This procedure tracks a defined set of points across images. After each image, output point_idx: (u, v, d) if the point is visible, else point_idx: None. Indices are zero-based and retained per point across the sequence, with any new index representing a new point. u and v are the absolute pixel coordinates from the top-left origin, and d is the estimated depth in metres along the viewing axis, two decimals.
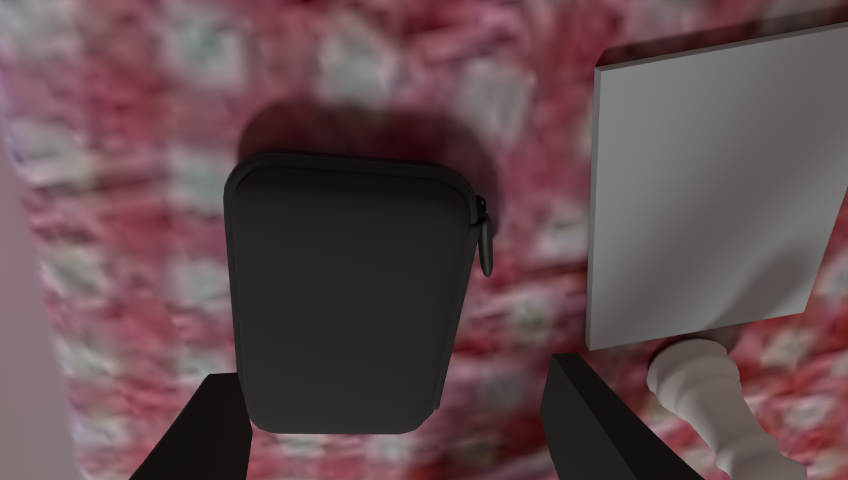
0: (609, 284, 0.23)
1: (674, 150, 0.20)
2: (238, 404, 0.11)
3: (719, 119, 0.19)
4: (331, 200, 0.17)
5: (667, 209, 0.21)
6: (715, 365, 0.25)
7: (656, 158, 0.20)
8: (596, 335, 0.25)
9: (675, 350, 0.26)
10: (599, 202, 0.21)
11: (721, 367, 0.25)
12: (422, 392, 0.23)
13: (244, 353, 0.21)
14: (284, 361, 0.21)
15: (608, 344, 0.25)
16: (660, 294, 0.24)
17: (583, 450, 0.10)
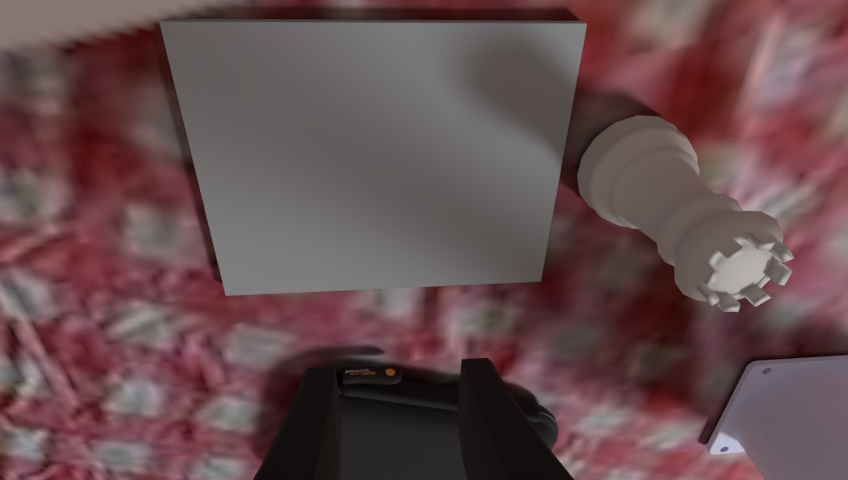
0: (452, 271, 0.22)
1: (303, 231, 0.20)
2: (336, 398, 0.11)
3: (272, 196, 0.19)
4: None
5: (370, 229, 0.21)
6: (603, 175, 0.19)
7: (309, 246, 0.21)
8: (520, 277, 0.23)
9: (583, 191, 0.21)
10: (351, 286, 0.22)
11: (610, 168, 0.19)
12: None
13: None
14: None
15: (539, 264, 0.22)
16: (483, 220, 0.21)
17: (481, 458, 0.10)
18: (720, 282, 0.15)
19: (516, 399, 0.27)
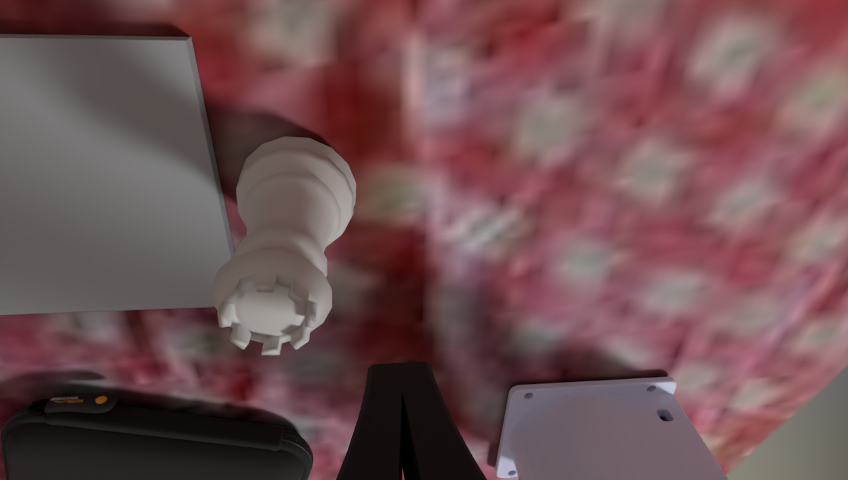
0: (136, 294, 0.21)
1: None
2: None
3: None
4: None
5: (24, 251, 0.20)
6: (240, 200, 0.18)
7: None
8: None
9: None
10: (27, 310, 0.21)
11: (243, 192, 0.18)
12: (231, 470, 0.25)
13: None
14: None
15: None
16: (150, 244, 0.20)
17: (410, 463, 0.10)
18: (251, 324, 0.14)
19: (260, 426, 0.26)
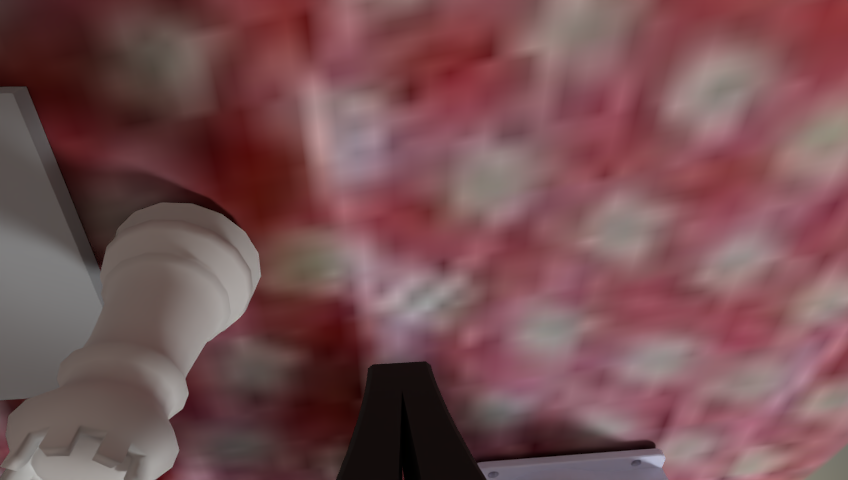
0: (8, 383, 0.18)
1: None
2: None
3: None
4: None
5: None
6: (104, 284, 0.14)
7: None
8: None
9: None
10: None
11: (105, 276, 0.14)
12: None
13: None
14: None
15: None
16: (14, 328, 0.17)
17: (410, 463, 0.10)
18: None
19: None
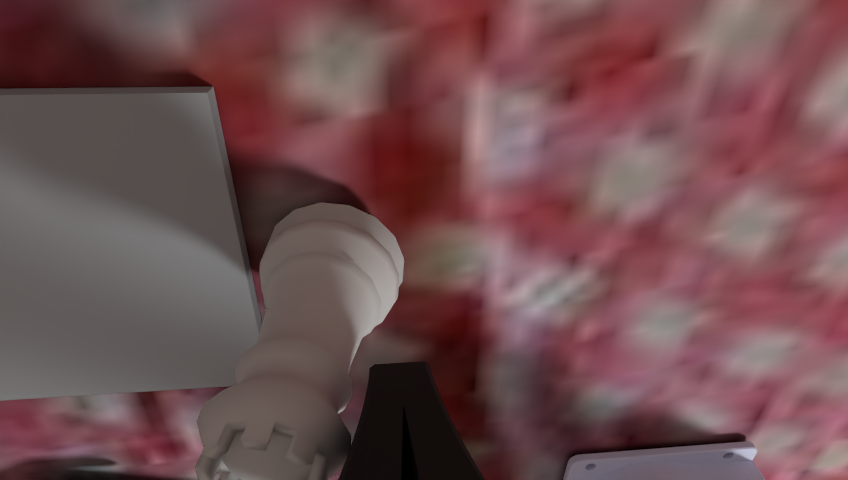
0: (149, 375, 0.18)
1: None
2: None
3: None
4: None
5: (19, 333, 0.17)
6: (263, 278, 0.15)
7: None
8: None
9: None
10: (25, 395, 0.18)
11: (266, 270, 0.15)
12: None
13: None
14: None
15: None
16: (165, 321, 0.17)
17: (408, 463, 0.10)
18: (242, 476, 0.10)
19: None
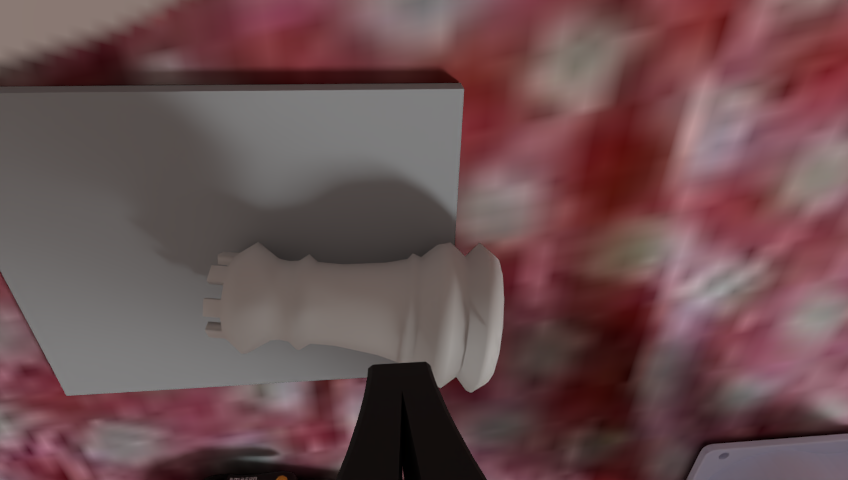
0: (338, 364, 0.19)
1: (147, 326, 0.17)
2: None
3: (100, 290, 0.16)
4: None
5: None
6: None
7: (158, 341, 0.17)
8: None
9: None
10: (218, 383, 0.19)
11: (427, 253, 0.16)
12: None
13: None
14: None
15: None
16: None
17: (410, 463, 0.10)
18: None
19: None
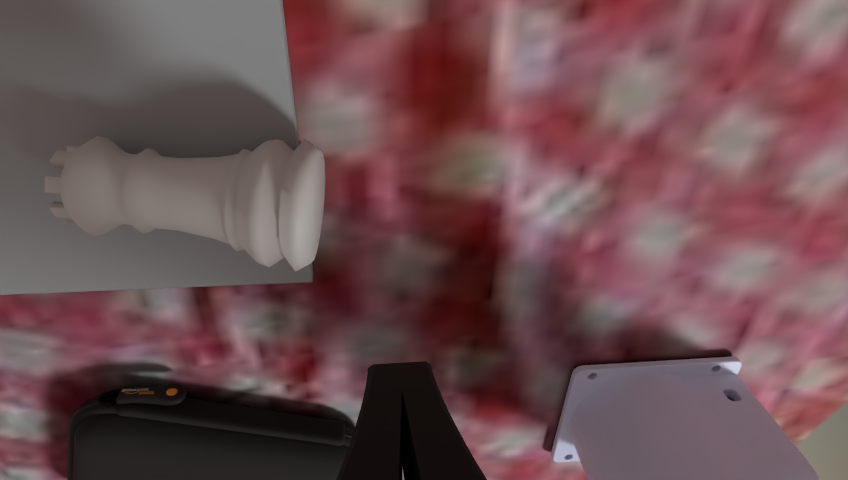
0: (208, 270, 0.21)
1: (23, 227, 0.19)
2: None
3: None
4: None
5: None
6: None
7: (35, 243, 0.19)
8: (287, 277, 0.21)
9: None
10: (98, 287, 0.21)
11: None
12: (296, 464, 0.25)
13: None
14: None
15: None
16: None
17: (410, 463, 0.10)
18: None
19: (322, 421, 0.26)
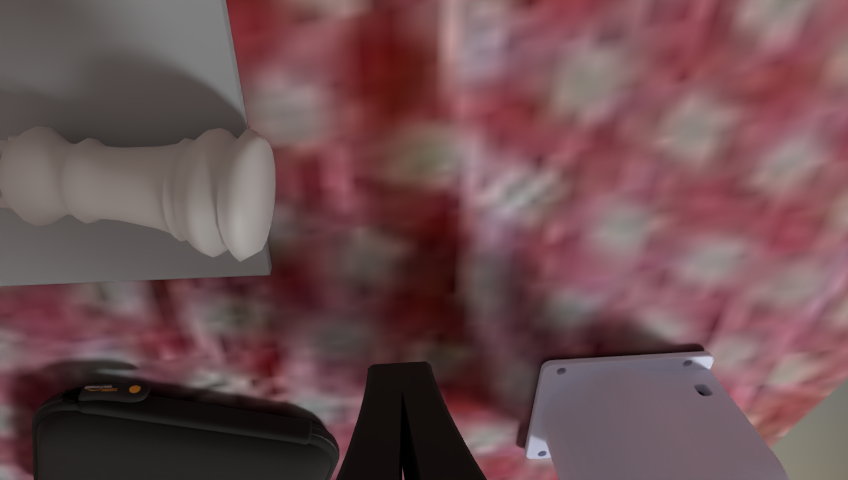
0: (163, 263, 0.21)
1: None
2: None
3: None
4: None
5: None
6: None
7: None
8: (244, 269, 0.21)
9: None
10: (53, 280, 0.20)
11: None
12: (261, 462, 0.25)
13: None
14: None
15: (261, 256, 0.21)
16: None
17: (410, 463, 0.10)
18: None
19: (289, 419, 0.26)
